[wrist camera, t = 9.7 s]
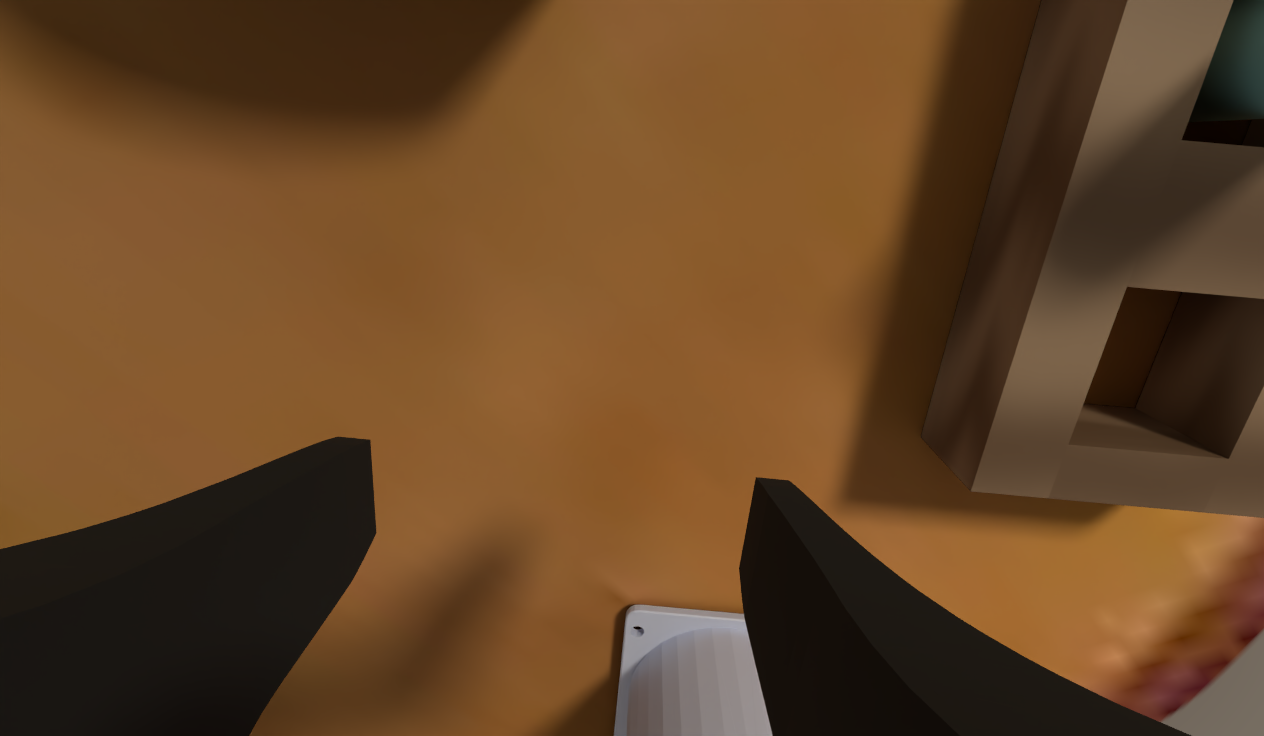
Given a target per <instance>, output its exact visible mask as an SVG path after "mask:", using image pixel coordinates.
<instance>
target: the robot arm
mask: <svg viewBox="0 0 1264 736" xmlns="http://www.w3.org/2000/svg"><path fill="white" fill-rule="evenodd" d="M375 535H376V521H375V506H374V490H373V475H372V460H371V444H370V440H366V439H356V438H346V437H335V438H332V439H328V440H325V441H322V442H319V443H316V444H313V445H311V446H308V447H306V448H303V449H301V450H298V451H296V452H293V453H291V454H288V455H286V456H283V457H281V458H278V459H276V460H273V461H271V462H269V463H266V464H264V465H261V466H259V467H256V468H254V469H251V470H249V471H247V472H244V473H242V474H239V475H237V476H234V477H232V478H229V479H227V480H224V481H222V482H219V483H216V484H214V485H211V486H208V487H206V488H203V489H200V490H198V491H195V492H192V493H190V494H187V495H184V496H182V497H179V498H176V499H174V500H171V501H168V502H166V503H163V504H160V505H157V506H154V507H151V508H148V509H145V510H142V511H139V512H136V513H133V514H130V515H127V516H123V517H120V518H117V519H113V520H110V521H107V522H103V523H100V524H97V525H93V526H90V527H87V528H83V529H79V530H76V531H72V532H69V533H65V534H61V535H57V536H52V537H48V538H44V539H40V540H36V541H32V542H28V543H24V544H20V545H16V546H12V547H8V548H4V549H0V736H249V735H250V733H251V731H252V729H253V728H254V726H255V724H256V722H257V720H258V719H259V717H260V715H261V713H262V712H263V710H264V709H265V707H266V706H267V704H268V703H269V701H270V699H271V698H272V696H273V695H274V693H275V692H276V690H277V688H278V687H279V686H280V684H281V683H282V681H283V680H284V678H285V677H286V676H287V674H288V673H289V671H290V670H291V668H292V667H293V666H294V664H295V663H296V661H297V660H298V658H299V657H300V655H301V654H302V653H303V651H304V650H305V648H306V647H307V645H308V644H309V643H310V641H311V640H312V638H313V637H314V635H315V634H316V633H317V631H318V630H319V628H320V627H321V625H322V624H323V623H324V621H325V620H326V618H327V617H328V615H329V614H330V613H331V611H332V610H333V608H334V607H335V605H336V604H337V602H338V601H339V599H340V598H341V596H342V595H343V594H344V592H345V591H346V589H347V588H348V586H349V585H350V583H351V582H352V580H353V578H354V576H355V575H356V573H357V571H358V569H359V567H360V565H361V563H362V561H363V559H364V557H365V555H366V553H367V551H368V549H369V547H370V545H371V543H372V541H373V539H374V537H375ZM739 572H740V582H741V593H742V602H743V610H744V614H738V613H727V612H716V611H705V610H694V609H683V608H672V607H661V606H650V605H633V606H631V607H630V608H629V609H628V610H627V612H626V618H625V628H624V638H623V648H622V658H621V668H620V678H619V687H618V697H617V707H616V717H615V727H614V736H1191V735H1189V734H1186V733H1184V732H1182V731H1179V730H1177V729H1174V728H1172V727H1170V726H1168V725H1165V724H1163V723H1161V722H1158V721H1156V720H1154V719H1151V718H1149V717H1147V716H1144V715H1142V714H1140V713H1137V712H1135V711H1133V710H1130V709H1128V708H1126V707H1123V706H1121V705H1119V704H1117V703H1115V702H1112V701H1110V700H1108V699H1106V698H1104V697H1102V696H1100V695H1098V694H1096V693H1094V692H1092V691H1090V690H1088V689H1086V688H1084V687H1082V686H1080V685H1078V684H1076V683H1074V682H1072V681H1070V680H1068V679H1065V678H1063V677H1061V676H1059V675H1057V674H1056V673H1054V672H1052V671H1050V670H1048V669H1046V668H1044V667H1042V666H1040V665H1039V664H1037V663H1035V662H1033V661H1031V660H1029V659H1027V658H1025V657H1024V656H1022V655H1020V654H1018V653H1017V652H1015V651H1013V650H1011V649H1010V648H1008V647H1006V646H1005V645H1003V644H1001V643H999V642H998V641H996V640H994V639H992V638H991V637H989V636H987V635H986V634H984V633H982V632H980V631H979V630H977V629H976V628H974V627H972V626H971V625H969V624H968V623H966V622H964V621H963V620H961V619H960V618H958V617H956V616H955V615H953V614H952V613H950V612H949V611H948V610H946V609H945V608H943V607H942V606H940V605H939V604H937V603H936V602H934V601H933V600H931V599H930V598H928V597H927V596H925V595H924V594H923V593H921V592H920V591H918V590H917V589H916V588H914V587H913V586H911V585H910V584H909V583H907V582H906V581H905V580H903V579H902V578H901V577H900V576H898V575H897V574H896V573H894V572H893V571H892V570H891V569H889V568H888V567H887V566H886V565H884V564H883V563H882V562H881V561H879V560H878V559H877V558H876V557H874V556H873V555H872V554H871V553H870V552H868V551H867V550H866V549H865V548H864V547H862V546H861V545H860V544H859V543H858V542H857V541H856V540H854V539H853V538H852V537H851V536H850V535H849V534H848V533H846V532H845V531H844V530H843V529H842V528H841V527H840V526H839V525H838V524H836V523H835V522H834V521H833V520H832V519H831V518H830V517H829V516H828V515H827V514H826V513H825V512H823V511H822V510H821V509H820V508H819V507H818V506H817V505H816V504H815V503H814V502H813V501H812V500H811V499H809V498H808V497H807V496H806V495H805V494H804V493H803V492H802V491H801V490H800V489H798V488H797V487H796V486H795V485H794V484H793V483H791V482H790V481H788V480H778V479H768V478H757V477H756V480H755V485H754V491H753V496H752V502H751V507H750V512H749V518H748V523H747V529H746V534H745V539H744V545H743V550H742V556H741V561H740V567H739ZM636 626H639V627H642V628H641V629H634V628H633V627H636Z"/></svg>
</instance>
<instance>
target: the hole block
mask: <svg viewBox="0 0 1264 736" xmlns="http://www.w3.org/2000/svg"><path fill="white" fill-rule="evenodd" d="M1233 1H1234V0H1041V4H1040V7H1039V11H1038V15H1037V18H1036V22H1035V26H1034V29H1033V33H1032V36H1031V40H1030V44H1029V47H1028V51H1027V55H1026V58H1025V62H1024V65H1023V69H1022V73H1021V76H1020V80H1019V83H1018V87H1017V91H1016V94H1015V98H1014V102H1013V105H1012V109H1011V112H1010V116H1009V120H1008V123H1007V127H1006V130H1005V134H1004V138H1003V141H1002V145H1001V149H1000V152H999V156H998V159H997V163H996V167H995V170H994V174H993V178H992V181H991V185H990V188H989V192H988V196H987V199H986V203H985V206H984V210H983V214H982V217H981V221H980V225H979V228H978V232H977V235H976V239H975V243H974V246H973V250H972V253H971V257H970V261H969V264H968V268H967V272H966V275H965V279H964V282H963V286H962V290H961V293H960V297H959V301H958V304H957V308H956V311H955V315H954V319H953V322H952V326H951V329H950V333H949V337H948V340H947V344H946V348H945V351H944V355H943V358H942V362H941V366H940V369H939V373H938V376H937V380H936V384H935V387H934V391H933V395H932V398H931V402H930V405H929V409H928V413H927V416H926V420H925V424H924V427H923V431H922V434H921V438H922V439H923V440H924V441H925V442H926V443H927V444H928V445H929V447H930V448H931V449H932V450H933V451H934V452H935V453H936V454H937V455H938V456H939V457H940V458H941V460H942V461H943V462H944V463H945V464H946V465H947V466H948V467H949V468H950V469H951V470H952V471H953V473H954V474H955V475H956V476H957V477H958V478H959V479H960V480H961V481H962V482H963V483H964V485H965V486H966V487H967V488H968V489H969V490H970V491H972V492H983V493H994V494H1005V495H1016V496H1027V497H1038V498H1050V499H1061V500H1072V501H1083V502H1094V503H1105V504H1116V505H1127V506H1138V507H1149V508H1160V509H1171V510H1183V511H1194V512H1205V513H1216V514H1227V515H1238V516H1249V517H1260V518H1264V119H1252V122H1251V124H1250V126H1249V129H1248V131H1247V134H1246V136H1245V139H1244V141H1243V144H1242V145H1230V144H1219V143H1208V142H1197V141H1185V140H1182V138H1183V135H1184V132H1185V130H1186V127H1187V124H1188V121H1189V119H1190V116H1191V113H1192V111H1193V108H1194V105H1195V103H1196V100H1197V97H1198V95H1199V92H1200V89H1201V87H1202V84H1203V81H1204V78H1205V76H1206V73H1207V70H1208V68H1209V65H1210V62H1211V60H1212V57H1213V54H1214V52H1215V49H1216V46H1217V44H1218V41H1219V38H1220V35H1221V33H1222V30H1223V27H1224V25H1225V22H1226V19H1227V17H1228V14H1229V11H1230V9H1231V6H1232V3H1233ZM1127 287H1135V288H1146V289H1158V290H1169V291H1180V292H1182V294H1181V297H1180V299H1179V302H1178V304H1177V307H1176V309H1175V311H1174V314H1173V316H1172V319H1171V321H1170V324H1169V326H1168V329H1167V331H1166V334H1165V336H1164V339H1163V341H1162V344H1161V346H1160V348H1159V351H1158V353H1157V356H1156V358H1155V361H1154V363H1153V366H1152V368H1151V371H1150V373H1149V376H1148V378H1147V381H1146V383H1145V385H1144V388H1143V390H1142V393H1141V395H1140V398H1139V400H1138V403H1137V405H1136V408H1127V407H1116V406H1104V405H1093V404H1084V401H1085V398H1086V396H1087V393H1088V390H1089V388H1090V385H1091V382H1092V380H1093V377H1094V374H1095V371H1096V369H1097V366H1098V363H1099V361H1100V358H1101V355H1102V353H1103V350H1104V347H1105V345H1106V342H1107V339H1108V337H1109V334H1110V331H1111V328H1112V326H1113V323H1114V320H1115V318H1116V315H1117V312H1118V310H1119V307H1120V304H1121V302H1122V299H1123V296H1124V294H1125V291H1126V288H1127Z"/></svg>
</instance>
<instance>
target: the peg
mask: <svg viewBox="0 0 1264 736" xmlns="http://www.w3.org/2000/svg"><path fill="white" fill-rule="evenodd" d="M1248 119H1264V0H1234V1H1233V3H1232V6H1231V9H1230V11H1229V14H1228V17H1227V19H1226V22H1225V25H1224V27H1223V30H1222V33H1221V35H1220V38H1219V41H1218V44H1217V46H1216V49H1215V52H1214V54H1213V57H1212V60H1211V62H1210V65H1209V68H1208V70H1207V73H1206V76H1205V78H1204V81H1203V84H1202V87H1201V89H1200V92H1199V95H1198V97H1197V100H1196V103H1195V105H1194V108H1193V111H1192V113H1191V116H1190V119H1189V121H1188V122H1203V121H1225V120H1248Z"/></svg>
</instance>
